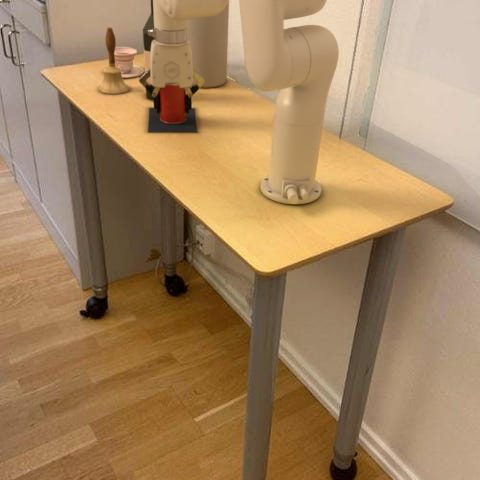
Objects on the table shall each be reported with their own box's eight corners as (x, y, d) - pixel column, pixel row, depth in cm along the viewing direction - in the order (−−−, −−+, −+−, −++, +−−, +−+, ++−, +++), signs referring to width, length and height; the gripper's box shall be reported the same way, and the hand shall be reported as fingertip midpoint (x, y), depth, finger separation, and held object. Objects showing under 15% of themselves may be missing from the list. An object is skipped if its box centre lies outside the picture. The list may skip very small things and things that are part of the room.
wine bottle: (181, 98, 160) (179, -26, 141) (154, 103, 156) (148, -24, 137) (166, 89, 165) (163, -32, 146) (140, 93, 161) (132, -30, 142)
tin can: (186, 124, 146) (186, 84, 139) (159, 124, 145) (157, 83, 139) (185, 114, 151) (185, 75, 145) (159, 114, 150) (158, 74, 144)
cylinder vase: (190, 72, 178) (190, -21, 162) (230, 77, 176) (233, -16, 160) (178, 85, 168) (177, -12, 152) (220, 90, 167) (223, -7, 151)
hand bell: (126, 83, 167) (121, 23, 157) (131, 93, 161) (127, 31, 151) (96, 85, 165) (90, 24, 155) (101, 95, 159) (94, 32, 149)
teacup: (152, 71, 177) (151, 50, 173) (126, 81, 169) (124, 59, 165) (122, 63, 181) (120, 42, 177) (95, 73, 173) (92, 51, 169)
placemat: (197, 132, 143) (197, 132, 142) (147, 132, 141) (147, 132, 141) (194, 108, 155) (194, 108, 155) (149, 108, 154) (149, 107, 153)
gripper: (132, 39, 132) (137, 117, 143) (209, 40, 133) (208, 117, 145) (133, 30, 137) (138, 106, 149) (207, 32, 139) (206, 106, 150)
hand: (172, 111), depth 146 cm, fingers closed on tin can, 6 cm apart
